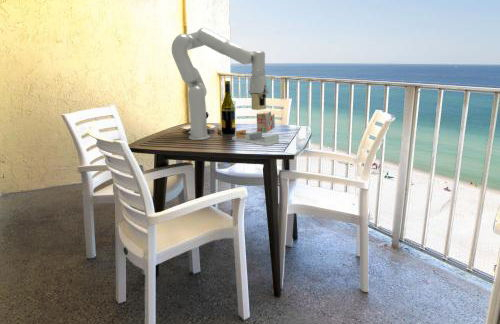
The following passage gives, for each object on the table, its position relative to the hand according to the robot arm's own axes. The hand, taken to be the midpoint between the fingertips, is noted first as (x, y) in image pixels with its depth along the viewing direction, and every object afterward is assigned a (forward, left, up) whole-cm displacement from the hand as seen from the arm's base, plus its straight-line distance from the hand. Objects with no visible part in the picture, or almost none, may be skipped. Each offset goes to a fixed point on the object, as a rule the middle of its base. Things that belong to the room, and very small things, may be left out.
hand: (258, 104), depth 220 cm
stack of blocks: (-13, +21, -20) cm, 32 cm away
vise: (+7, -11, -19) cm, 23 cm away
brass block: (0, 0, -3) cm, 3 cm away
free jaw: (+1, -11, -17) cm, 21 cm away
